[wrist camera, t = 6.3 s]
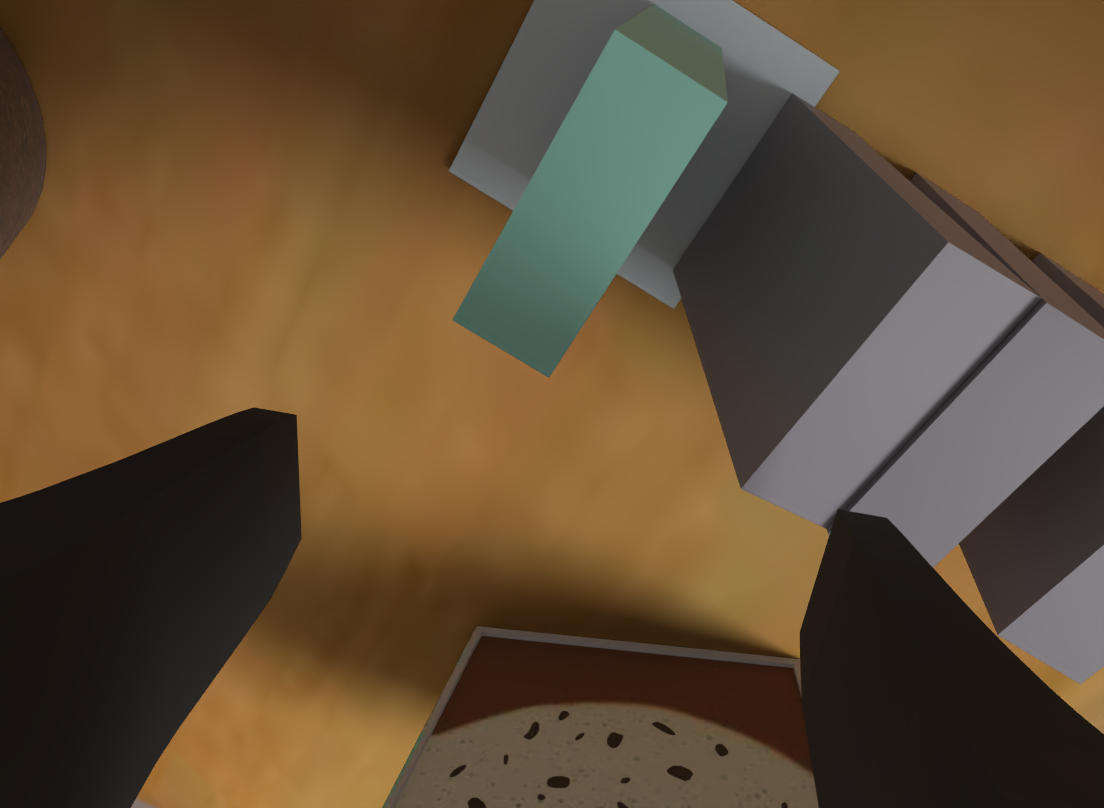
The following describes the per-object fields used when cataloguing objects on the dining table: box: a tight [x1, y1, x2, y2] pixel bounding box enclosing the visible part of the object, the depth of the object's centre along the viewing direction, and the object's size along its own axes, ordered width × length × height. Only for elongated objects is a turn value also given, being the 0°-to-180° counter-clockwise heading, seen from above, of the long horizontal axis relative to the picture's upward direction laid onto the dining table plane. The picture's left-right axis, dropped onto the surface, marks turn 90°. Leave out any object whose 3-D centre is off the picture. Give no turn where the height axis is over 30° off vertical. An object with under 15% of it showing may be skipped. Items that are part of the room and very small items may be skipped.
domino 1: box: [453, 4, 728, 377], centre depth 15 cm, size 2×4×8 cm, turn 150°
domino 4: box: [959, 253, 1104, 684], centre depth 16 cm, size 2×4×8 cm, turn 150°
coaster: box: [449, 0, 840, 309], centre depth 19 cm, size 6×6×1 cm
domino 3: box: [827, 173, 1104, 567], centre depth 16 cm, size 2×4×8 cm, turn 150°
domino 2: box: [673, 93, 1042, 529], centre depth 15 cm, size 2×4×8 cm, turn 151°
